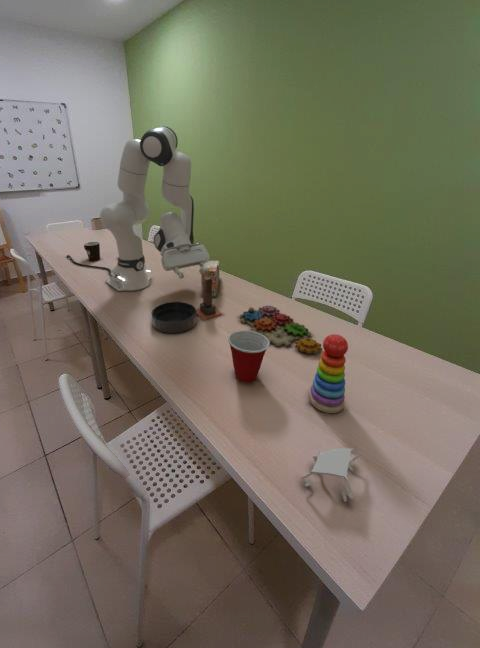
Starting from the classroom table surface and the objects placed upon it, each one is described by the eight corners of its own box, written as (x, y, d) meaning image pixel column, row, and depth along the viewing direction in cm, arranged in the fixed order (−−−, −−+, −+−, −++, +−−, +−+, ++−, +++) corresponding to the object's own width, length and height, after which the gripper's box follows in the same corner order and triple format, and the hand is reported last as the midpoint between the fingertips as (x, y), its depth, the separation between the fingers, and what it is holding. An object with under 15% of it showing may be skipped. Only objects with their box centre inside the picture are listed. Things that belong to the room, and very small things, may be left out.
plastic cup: (274, 375, 83) (278, 338, 78) (251, 395, 76) (254, 357, 71) (242, 358, 90) (244, 323, 85) (218, 375, 83) (219, 339, 78)
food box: (206, 278, 149) (206, 254, 144) (219, 278, 148) (219, 254, 143) (201, 296, 130) (201, 270, 125) (216, 297, 129) (216, 270, 124)
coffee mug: (103, 260, 180) (101, 244, 176) (89, 262, 176) (86, 246, 172) (98, 255, 189) (96, 239, 185) (84, 257, 185) (81, 242, 181)
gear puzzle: (334, 350, 92) (336, 338, 91) (293, 365, 86) (295, 353, 85) (270, 308, 118) (271, 299, 117) (235, 317, 112) (235, 308, 111)
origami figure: (341, 520, 50) (347, 502, 48) (296, 482, 56) (299, 465, 54) (371, 474, 57) (377, 456, 55) (328, 444, 62) (332, 427, 60)
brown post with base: (200, 310, 117) (199, 277, 111) (208, 308, 119) (208, 275, 113) (206, 315, 113) (206, 281, 107) (215, 313, 115) (215, 279, 109)
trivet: (193, 311, 118) (193, 310, 117) (210, 306, 121) (210, 305, 121) (203, 320, 111) (203, 318, 111) (221, 314, 115) (221, 313, 114)
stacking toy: (348, 400, 73) (363, 335, 66) (337, 420, 68) (352, 352, 60) (315, 386, 78) (326, 324, 71) (303, 403, 73) (313, 338, 65)
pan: (143, 324, 110) (142, 313, 108) (174, 307, 121) (173, 297, 119) (174, 339, 100) (174, 328, 98) (205, 320, 111) (205, 309, 109)
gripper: (200, 246, 131) (211, 273, 127) (156, 253, 123) (167, 283, 119) (205, 238, 126) (217, 267, 122) (159, 245, 117) (171, 277, 113)
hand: (192, 275), depth 120 cm, fingers open, 8 cm apart
